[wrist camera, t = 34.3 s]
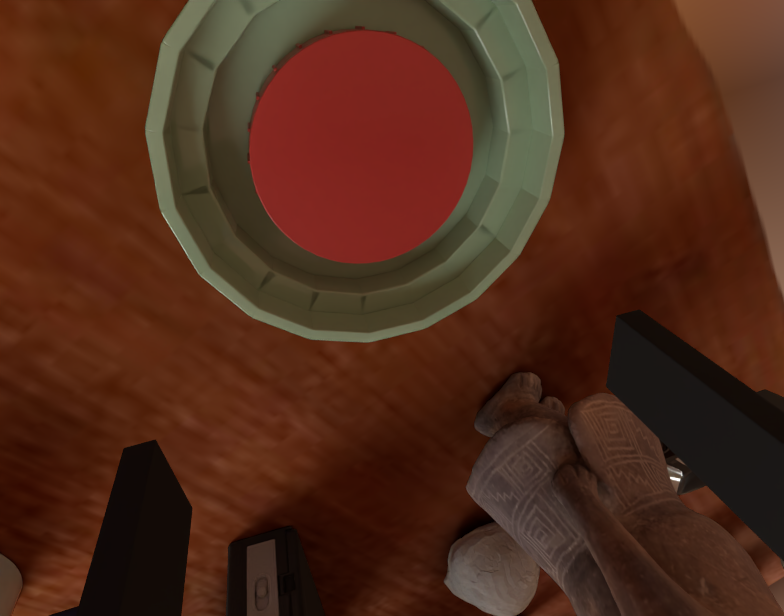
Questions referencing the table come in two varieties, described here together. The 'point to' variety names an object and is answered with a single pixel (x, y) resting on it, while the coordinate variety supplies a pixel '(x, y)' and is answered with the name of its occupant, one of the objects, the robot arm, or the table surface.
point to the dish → (253, 224)
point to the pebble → (492, 571)
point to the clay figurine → (605, 510)
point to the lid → (360, 145)
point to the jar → (9, 586)
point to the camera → (270, 577)
